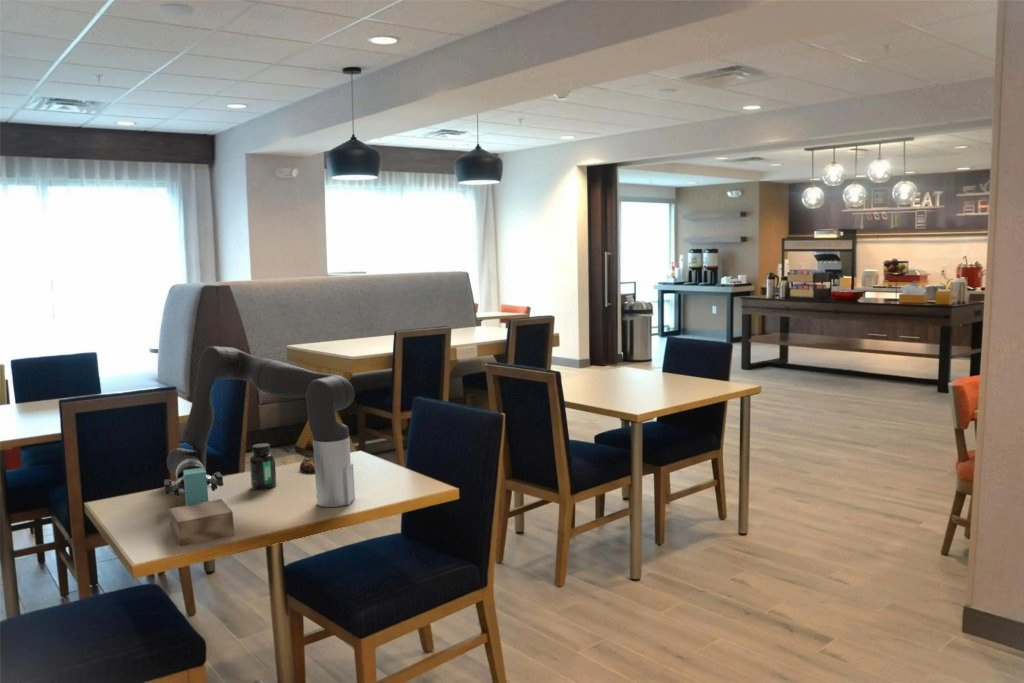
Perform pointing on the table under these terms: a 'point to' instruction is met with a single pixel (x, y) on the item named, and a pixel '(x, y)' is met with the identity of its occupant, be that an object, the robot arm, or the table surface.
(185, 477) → the teal post
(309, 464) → the bread roll
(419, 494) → the table surface
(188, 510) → the walnut block
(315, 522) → the table surface
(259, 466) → the supplement bottle
